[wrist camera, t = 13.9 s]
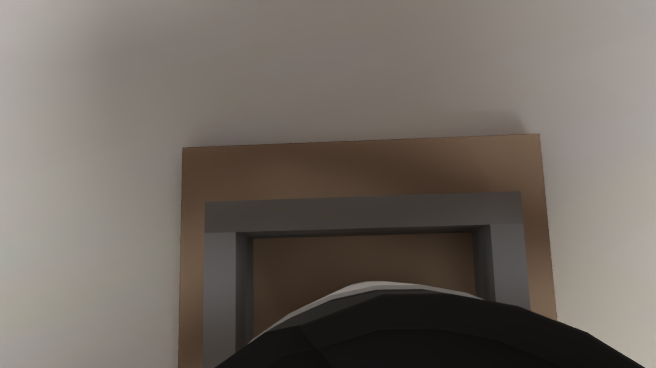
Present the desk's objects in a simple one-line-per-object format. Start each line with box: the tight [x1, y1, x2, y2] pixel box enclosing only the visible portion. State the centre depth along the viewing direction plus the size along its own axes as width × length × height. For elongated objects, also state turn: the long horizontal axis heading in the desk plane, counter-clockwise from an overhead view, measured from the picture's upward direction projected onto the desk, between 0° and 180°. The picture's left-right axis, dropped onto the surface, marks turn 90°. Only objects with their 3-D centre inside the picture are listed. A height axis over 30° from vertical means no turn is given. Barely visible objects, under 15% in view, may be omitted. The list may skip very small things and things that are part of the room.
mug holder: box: [178, 134, 557, 368], centre depth 22 cm, size 18×16×5 cm
